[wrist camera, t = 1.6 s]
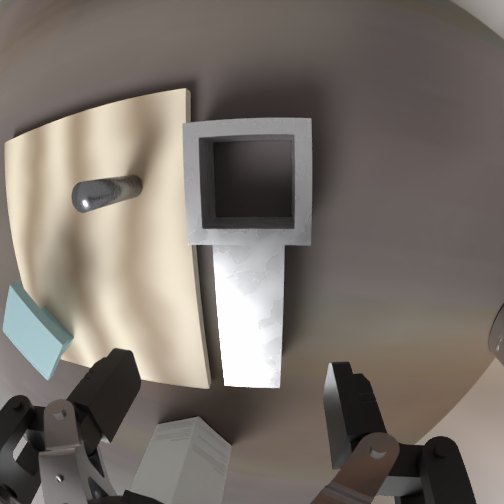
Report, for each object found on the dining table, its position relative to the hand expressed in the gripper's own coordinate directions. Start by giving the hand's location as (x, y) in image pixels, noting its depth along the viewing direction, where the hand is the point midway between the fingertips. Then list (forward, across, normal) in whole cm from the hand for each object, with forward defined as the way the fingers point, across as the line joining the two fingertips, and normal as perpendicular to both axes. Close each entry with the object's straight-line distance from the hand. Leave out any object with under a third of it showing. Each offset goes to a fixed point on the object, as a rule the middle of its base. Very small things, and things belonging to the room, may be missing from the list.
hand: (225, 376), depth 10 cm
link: (+12, 0, -1) cm, 12 cm away
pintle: (+12, +9, -7) cm, 17 cm away
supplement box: (+12, +8, +23) cm, 28 cm away
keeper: (+12, +19, +5) cm, 23 cm away
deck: (+12, +15, -1) cm, 20 cm away
